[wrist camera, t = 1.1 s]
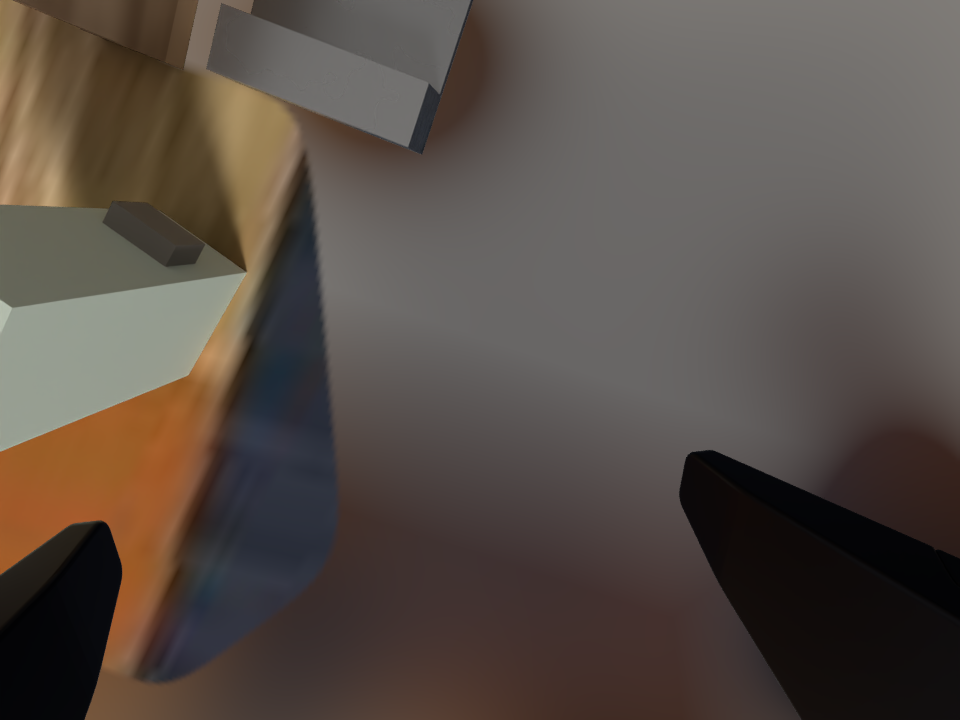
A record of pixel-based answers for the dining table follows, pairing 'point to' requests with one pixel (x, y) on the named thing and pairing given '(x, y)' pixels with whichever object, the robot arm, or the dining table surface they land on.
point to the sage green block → (99, 309)
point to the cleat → (347, 59)
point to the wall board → (130, 23)
